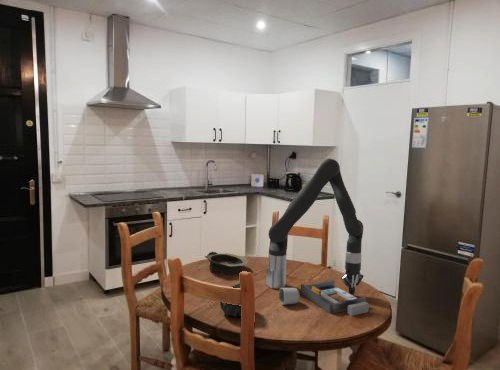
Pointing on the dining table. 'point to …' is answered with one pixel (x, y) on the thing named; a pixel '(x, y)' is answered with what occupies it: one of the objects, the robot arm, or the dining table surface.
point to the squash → (231, 306)
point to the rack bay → (315, 295)
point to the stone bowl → (225, 262)
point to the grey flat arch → (338, 291)
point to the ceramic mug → (289, 296)
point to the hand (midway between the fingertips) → (351, 294)
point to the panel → (357, 308)
